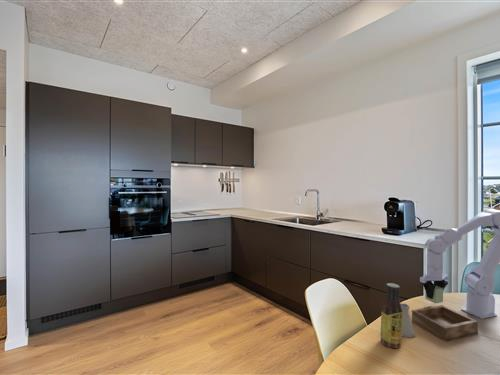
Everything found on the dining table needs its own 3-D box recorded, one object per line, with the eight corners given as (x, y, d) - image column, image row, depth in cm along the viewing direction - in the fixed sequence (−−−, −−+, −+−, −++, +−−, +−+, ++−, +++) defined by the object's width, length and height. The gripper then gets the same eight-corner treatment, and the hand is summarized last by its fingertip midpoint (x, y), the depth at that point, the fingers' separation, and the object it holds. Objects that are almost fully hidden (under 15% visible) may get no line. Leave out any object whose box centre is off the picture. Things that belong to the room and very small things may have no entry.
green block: (432, 297, 117) (433, 284, 117) (442, 302, 113) (443, 288, 112) (425, 298, 116) (425, 285, 115) (435, 303, 111) (435, 289, 111)
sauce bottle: (393, 351, 84) (395, 290, 83) (376, 341, 89) (377, 283, 89) (406, 346, 87) (407, 286, 86) (388, 336, 92) (389, 280, 92)
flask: (409, 327, 98) (409, 301, 98) (419, 338, 91) (420, 310, 91) (389, 326, 99) (389, 300, 99) (397, 337, 92) (398, 309, 92)
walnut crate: (441, 315, 107) (442, 305, 107) (477, 333, 94) (478, 321, 94) (411, 321, 102) (412, 310, 102) (445, 341, 90) (445, 328, 89)
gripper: (437, 262, 120) (437, 291, 120) (413, 264, 115) (413, 295, 116) (454, 266, 113) (453, 297, 113) (428, 270, 109) (428, 302, 109)
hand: (434, 297), depth 114 cm, fingers closed on green block, 4 cm apart
